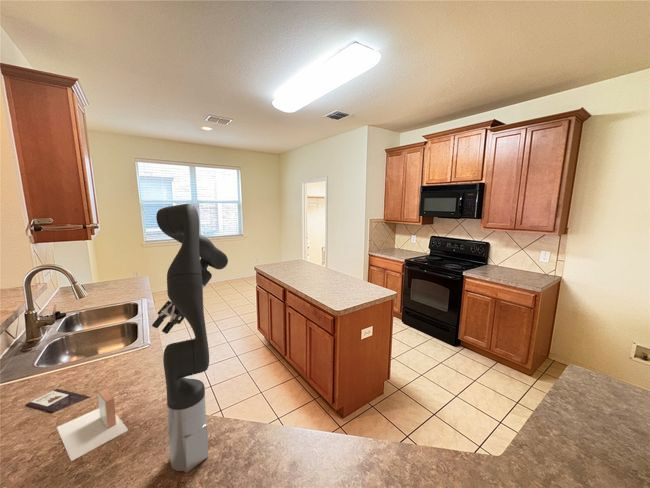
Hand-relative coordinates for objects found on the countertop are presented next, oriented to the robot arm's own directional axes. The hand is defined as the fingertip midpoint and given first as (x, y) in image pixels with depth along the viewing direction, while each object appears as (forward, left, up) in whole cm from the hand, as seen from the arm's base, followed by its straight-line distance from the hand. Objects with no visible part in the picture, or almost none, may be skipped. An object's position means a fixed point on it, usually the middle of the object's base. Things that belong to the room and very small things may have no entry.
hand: (159, 329), depth 94 cm
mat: (+2, +20, -27) cm, 33 cm away
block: (+2, +16, -26) cm, 30 cm away
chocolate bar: (+30, +23, -27) cm, 47 cm away
